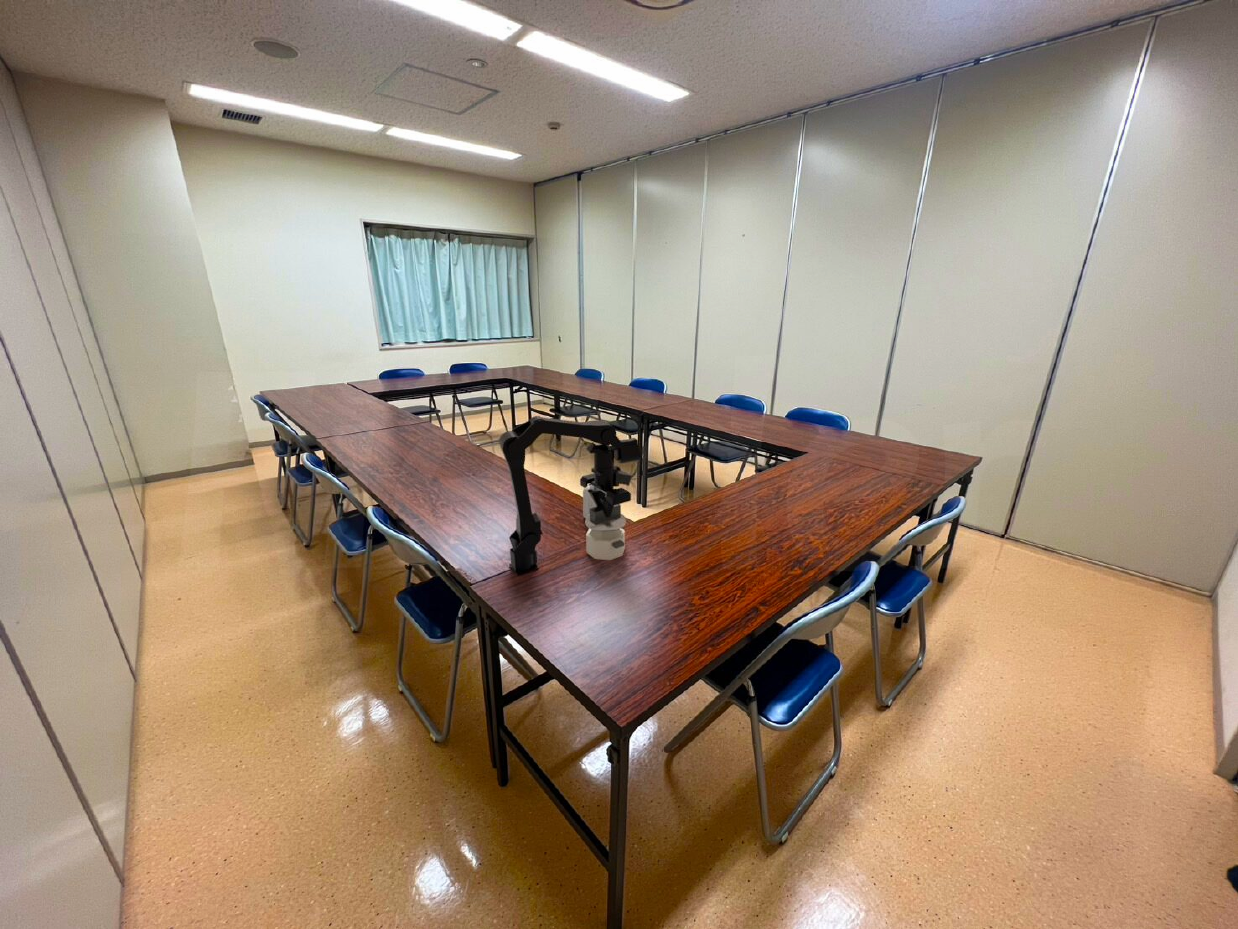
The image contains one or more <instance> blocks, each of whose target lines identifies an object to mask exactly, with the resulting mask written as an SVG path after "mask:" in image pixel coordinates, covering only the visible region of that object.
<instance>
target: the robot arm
mask: <svg viewBox="0 0 1238 929" xmlns="http://www.w3.org/2000/svg"><path fill="white" fill-rule="evenodd" d="M543 434H546V435H554V436H563V437H572V438H580V439H585V440H587V441H591V443H590V444H589V445H588V446H587V447H586V448H585V449H586V451H587V452H589V454H593V467H591V470H590V471H591V473H590V474H585V475H582V476H581V478H580V479H579V484H580V487H582V488H583V489H584V488H586V487H587V486H590V490H588V492H589V494H590V495H591V497H592V499H593V501H594V502H595V504H596V506H597V507H598V506H601V505H602V506H603V509H604V512H605V515H606V517H607V518H608V517H610V516H611V513H612V510H613V507H614V505H618V504H620V505H621V504H625V503H628V502H631V501H632V493H631V492H630V491H629V490H627V489H625V488H623V487H620V485H625V486H627V487H630V484H631V481H632V477H633V475H632V474H630V473H628V472H626V471H624V470H622V469H621V467H619V466H617V465H615V461H617V462H618V464H628V463H634V462H635V463H636V462H639V461H640V460H641V457H642V452H641V448H640V444H638V443H639V440H638V439H637V438H635V437H631V438H629V439H628V438H627V439H620V438H619V437H618V436H617V431H616V428H615V427H614V426H613V425H611V424H610V423H609V422H607V421H606V420H602V419H601V420H600V419H599V420H597V419H596V420H594V419H593V420H587V421H573V420H567V419H559V418H557V419H556V418H548V417H542V416H540V415H535V416H533V417H531V418H530V419H529V420H527V421H525V422H523V423H521V424H520V425H517V426H516V427H515V428H513V429H512V430H509V431H505V432H504V433H502V434H501V435H500V437H499V438H498V442H499V443H498V444H499V448H500V450H501V452H502V454H503V456H504V459H505V461H506V465H507V467H508V470H509V475H510V476H509V478H510V481H511V488H512V490H513V497H514V502H515V507H516V519H515V525H516V526H515V527H516V529H515V530H514V531H513V532H512V533H511V534H510V536H509V537H508V538H509V541H510V544H511V548H509V554H510V563H509V564H508V566H509V568H510V569H511V570H512V571H513V572H514V573H515V574H516V575H517V576H523V574H528V573H530V572H533V571H535V570H538V569H539V565H537V564H538V552H537V550H536V547H537V545H538V544H539V543H540V542H541V540H542V535H544V533H543V531H542V527H541V526H542V523H541V522H542V521H541V519H540V517H539V516H538V514H537V512H534V513H533V510H532V505H531V504H532V503H531V500H530V495H529V488H528V482H527V476H526V472H525V471H526V470H525V463H526V462H525V461H526V450H527V449H528V448H529V447H530V446H531V445H533V443H534V442H535V441H536V440H537V439H538V438H539V437H540V436H541V435H543ZM614 487H616V488H614ZM617 487H618V488H617ZM605 496H606V497H605Z"/></svg>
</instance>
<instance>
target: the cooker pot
mask: <svg viewBox="0 0 1238 929" xmlns="http://www.w3.org/2000/svg"><path fill="white" fill-rule="evenodd" d="M587 529H588V530H587V532H586V534H585V542H586V543H585V544H586V546H585V547H586V551H585V552H586V553H587V554H588V555H589V556H591V557H592V558H593V559H594V560H603V561H612V560H614V559H617V558H619V557H622V556H623V555H624V553H625V552H624V551H625V550H626V530H624V529H623V527H622V528H620V529H618V530H615V531H609V532H601V531H595V530H592V529H590V528H588V527H587Z"/></svg>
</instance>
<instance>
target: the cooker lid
mask: <svg viewBox="0 0 1238 929" xmlns="http://www.w3.org/2000/svg"><path fill="white" fill-rule="evenodd" d="M621 508H622V505H621V504H618V505H614V507H613V510H612V513H611V516H610V517H608V518H607V517H606V515H605V512H604V509H603V506H602V505H601V506H598V507H594V508H591V509H589V511H590V514H589V515H588V516H587V517H586V518H585V521H584V524H585V526H586V527H587V529H588V528H590V529H592V530H595V531H601V532H609V531H615V530H618V529H620V528H622V529H623V527H624V526H625V525H626V523H627V521H626V519H627V518H626V516H625V515H624V514H623V513H622V509H621Z"/></svg>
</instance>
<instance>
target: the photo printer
mask: <svg viewBox="0 0 1238 929" xmlns="http://www.w3.org/2000/svg"><path fill="white" fill-rule="evenodd" d="M588 490H590V486H589V485H588V486H587V487H586V488H584V487H583V490H582V503H583V504H582V511H583V513H582V514H583V515H582V516H583V518H586V517H587V516H588V515H589V514H590V511H589V509H591V508H594V507H597V506H596V504H595V502H594V501H593V499H592V497H591V495H590V494H589V492H588ZM605 497H606V496H605Z"/></svg>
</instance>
